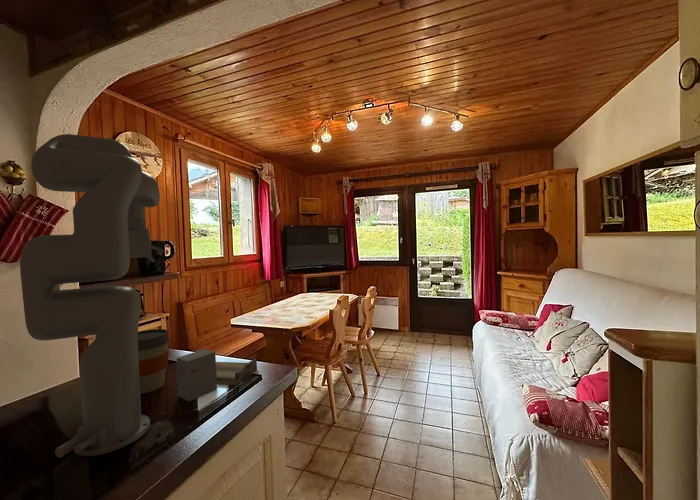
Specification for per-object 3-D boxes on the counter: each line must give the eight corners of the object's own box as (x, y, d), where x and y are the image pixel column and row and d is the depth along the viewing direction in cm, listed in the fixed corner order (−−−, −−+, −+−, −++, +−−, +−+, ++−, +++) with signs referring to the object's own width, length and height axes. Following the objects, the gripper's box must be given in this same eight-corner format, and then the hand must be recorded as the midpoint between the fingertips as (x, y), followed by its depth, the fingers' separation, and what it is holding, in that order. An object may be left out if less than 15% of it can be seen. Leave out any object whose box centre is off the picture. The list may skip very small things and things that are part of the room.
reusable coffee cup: (129, 381, 90) (127, 331, 90) (176, 374, 94) (174, 327, 94) (109, 401, 78) (106, 344, 78) (163, 393, 82) (161, 338, 81)
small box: (206, 384, 86) (205, 348, 86) (217, 389, 83) (216, 351, 83) (177, 396, 79) (175, 357, 79) (188, 402, 76) (186, 361, 76)
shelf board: (238, 385, 85) (238, 373, 84) (185, 382, 88) (185, 370, 88) (257, 369, 95) (257, 358, 95) (209, 367, 98) (209, 357, 98)
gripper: (96, 223, 94) (99, 278, 94) (161, 223, 102) (164, 273, 103) (102, 225, 100) (104, 276, 100) (162, 225, 109) (165, 272, 109)
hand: (134, 275), depth 102 cm, fingers open, 9 cm apart
